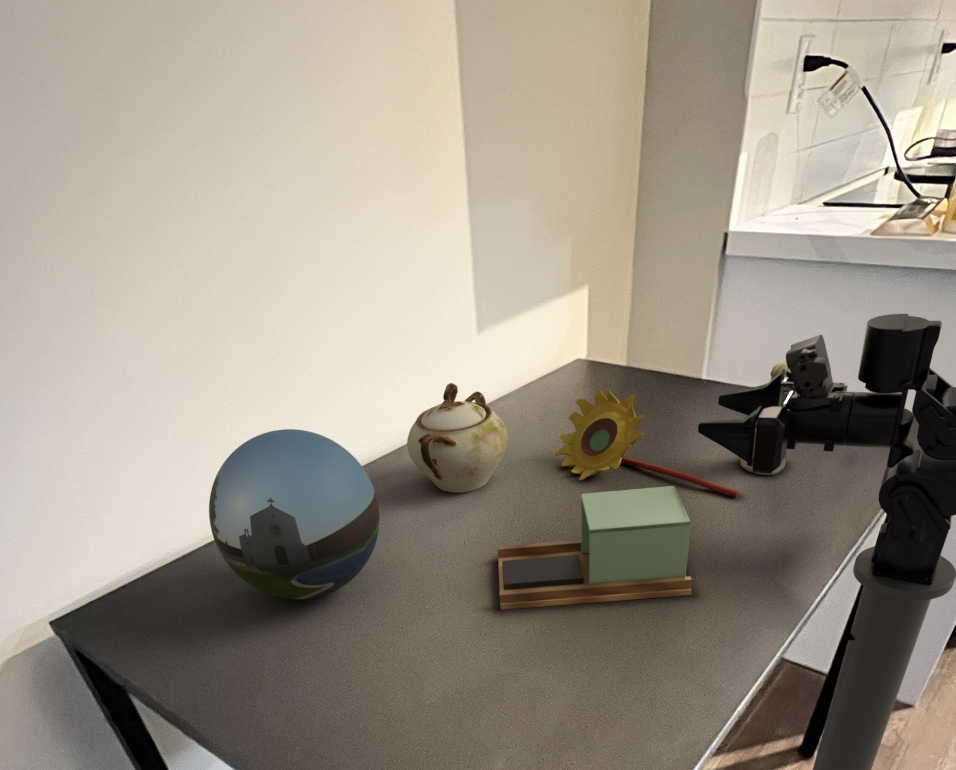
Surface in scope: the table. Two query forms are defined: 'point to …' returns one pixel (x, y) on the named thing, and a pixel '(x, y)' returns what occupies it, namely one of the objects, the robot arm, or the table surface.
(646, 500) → the cover
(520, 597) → the dock
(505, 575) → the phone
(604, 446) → the decorative flower
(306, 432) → the decorative sphere
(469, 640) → the table surface
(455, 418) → the sugar bowl
